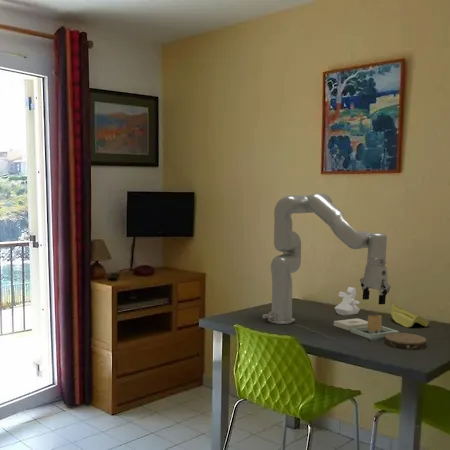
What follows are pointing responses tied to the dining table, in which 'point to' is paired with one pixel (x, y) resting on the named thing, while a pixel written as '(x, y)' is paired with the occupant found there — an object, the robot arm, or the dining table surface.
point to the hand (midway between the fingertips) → (373, 301)
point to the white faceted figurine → (348, 303)
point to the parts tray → (370, 336)
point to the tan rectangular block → (374, 324)
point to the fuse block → (351, 323)
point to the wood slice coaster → (405, 341)
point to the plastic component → (406, 317)
